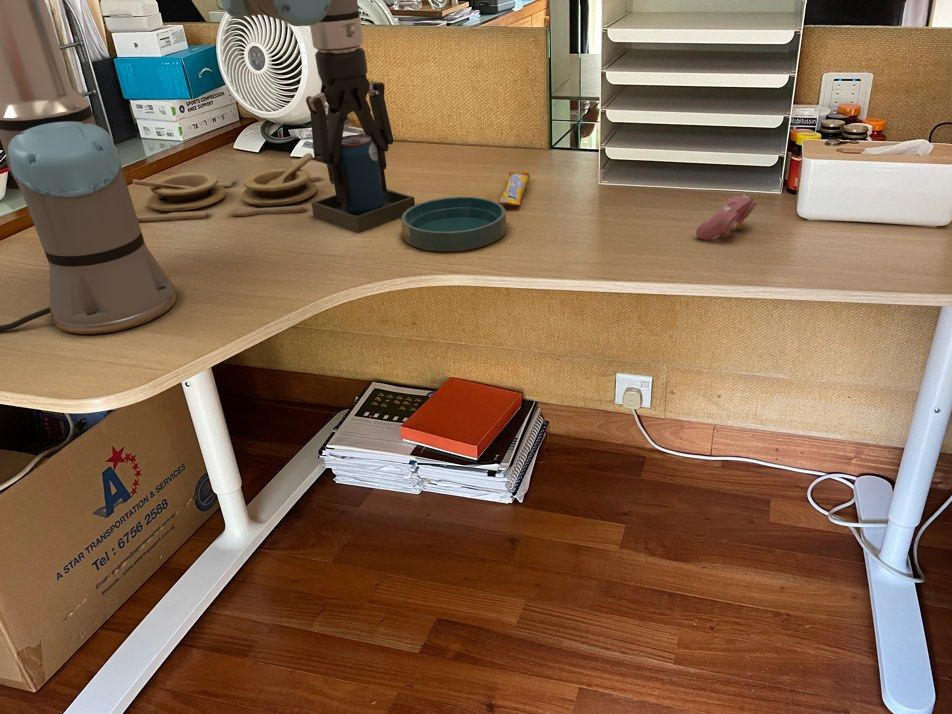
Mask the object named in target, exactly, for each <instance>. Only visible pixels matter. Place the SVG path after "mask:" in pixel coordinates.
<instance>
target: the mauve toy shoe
mask: <svg viewBox="0 0 952 714" xmlns="http://www.w3.org/2000/svg"><path fill="white" fill-rule="evenodd" d="M757 203H758V202H757V201H756V200H754V199H753V198H752V197H750V196H746V194H745V193H744V194H742V195H735V196H733V197H730V198H729V199H728V200H727V201H726V203H725V204H724V205H723V206H722V207H721V208H720V209H719V210H718V211H717V212H716V213H715V214H714V215H713V216H712V217H711V218H709V219H707V220H705V221H704V222H702V223H700V224H699V225H698V227H697V228H696V230H695V236H696V238H698V239H700V240H710V239H711V240H712V239H713V238H715V237H717V236H721V237H722V238H726V237H727V236H728V235H729V234H730V233H731V231H733V232H735V231H736V230H737V229H740V228H741V227H742V224H743V222H744V221H745V220H746V219H747V218H748V217H749V216H750V215H751V213H752V212H753V211H754V209H755V208H756V206H757Z"/></svg>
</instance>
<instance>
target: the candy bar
mask: <svg viewBox="0 0 952 714" xmlns="http://www.w3.org/2000/svg"><path fill="white" fill-rule="evenodd" d="M508 178H509V179H508V181H507V184H506V186H505V189H504V190H503V192H502V194H501V196H500V198H499V200H498V201H496V202H497V203H499V204H501V205H502V206H509V207H511V206H512V207H513V206H514V207H515V206H521V203H522V199H523V197H524V193H525V190H526V187H527V185H528V182H529V180H530V178H531V175H530V173H529V172H528V171H520V172H518V173H516V172H508Z"/></svg>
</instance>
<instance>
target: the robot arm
mask: <svg viewBox="0 0 952 714" xmlns="http://www.w3.org/2000/svg"><path fill="white" fill-rule="evenodd" d="M220 3H221V5H222V7H223V9H224V11H225V12H226V13H227V14H228V15H229V16H230V17H233V18H239V17H247V18H251V17H254V16H266V17H269V18H272V19H275V20H280V21H282V22H285V23H287V24H289V25H290V26H293V27H309V29H310V34H311V35H310V36H311V41H312V46H313V48H315V49H316V50H317V51H316V52H315V53H314V57H315V64H316V68H317V69H316V70H317V75H318V77H319V80H320V82H321V87H320V92H319V93H316V94H315V95H314V96H311V95H308V96H307V97H306V98H305V102H306V105H307V108H308V110H309V114H310V125H311V137H312V138H311V139H312V149H313V159H314V161H315V162H318V163H321V164H325V165H326V167H327V172H328V173H327V174H328V178H329V179H328V180H329V182H330V184H331V185H333V186H334V191H335V195H336V198H337V201H338V202H341V203H344V204H350V203H351V201H350V195H349V189H348V183H347V177H346V171H345V164H344V163H340V154H341V146H342V138H343V137H344V128H345V122H346V121H347V119H348V114H351V113H352V112H353V114H355V115H356V118H357V120H358V122H359V124H360V126H361V128H362V130H363V133H364V135H368V136H370V137H371V138H372V142H373V143H374V145H375V146H376V148H377V154H378V161H379V168H380V175H381V182H382V189H383V192H385V191H387V189H388V187H387V181H386V175H385V173H386V172H385V170H387V159H386V152H388V151H389V147H390V146H389V145H392V144H393V143H394V142H395V141H394V140H395V139H394V136H393V135H394V134H393V130H392V127H391V121H390V119H389V114H388V108H387V103H386V100H385V90H386V89H385V88H386V87H385V83H384V82H380V81H375V80H371V81H369V79H368V77H367V73H368V64H367V57H366V51H365V50H364V48H363V47H362V46H363V44H364V37H363V29H362V22H361V15H360V10H359V3H358V0H220ZM367 96H368V99H369V101H368V100H367ZM326 103H327V104H326ZM369 103H370V104H369ZM326 108H327V112H326ZM327 118H328V119H327ZM0 141H1V145H2V148H3V150H4V153H5V160H6V163H7V167H8V170H9V171H10V174H11V176H12V177H13V179H14V180H15V182H16V183H17V186H18V188H19V191H20V193H21V195H22V197H23V200H24V202H25V204H26V207H27V210H28V212H29V215H30V217H31V220H32V223H33V225H34V228H35V231H36V234H37V236H38V239H39V241H40V245H41V247H42V249H43V252H44V254H45V257H46V260H47V263H48V267H49V306H48V307H46V308H43V309H40V310H38V311H35V312H33V313H30V314H28V315H26V316H23V317H21V318H19V319H17V320H15V321H12V322H10V323H6V324H1V325H0V332H5V331H10V330H13V329H15V328H18V327H20V326H23V325H24V324H27V323H29V322H31V321H33V320H36V319H38V318H41V317H43V316H46V315H49V314H50V315H51V317H52V320H53V322H54V325H55V326H56V327H57V328H58V329H60V330H61V331H64V332H66V333H70V334H77V335H98V334H99V335H100V334H107V333H112V332H113V333H115V332H119V331H123V330H128V329H131V328H134V327H137V326H138V327H139V326H140V325H143V324H146V323H148V322H151V321H152V320H156V319H157V318H158V317H160V316H162V315H163V314H165V313H166V312H167V311H169V310H170V309H171V308H172V307H173V306H174V304H175V303H176V301H177V295H176V291H175V288H174V285H173V284H172V281H171V279H170V277H169V276H168V274H166V272H165V270H163V268H162V267H161V265H160V264H159V262H158V261H157V259H156V258H155V256H154V255H153V254H152V252H151V251H150V250H149V248H148V247H147V245H146V242H145V239H144V236H143V232H142V229H141V226H140V222H138V219H137V216H138V215H137V212H136V209H135V206H134V202H133V199H132V197H131V193H130V190H129V186H128V184H127V180H126V177H125V174H124V171H123V167H122V160H121V159H122V158H121V155H120V151H119V149H118V147H117V146H116V145H115V141H114V140H113V138H112V136H111V134H110V133H109V132H108V131H107V130H106V129H104V128H103V127H101V126H98V125H97V122H96V120H95V117H94V113H93V111H92V108H91V103H90V101H89V100H88V99H87V98H85V97H84V96H82V95H81V94H79V93H78V92H76V91H75V90H74V89H73V86H72V84H71V81H70V78H69V75H68V71H67V68H66V65H65V62H64V58H63V56H62V52H61V49H60V46H59V42H58V39H57V36H56V33H55V30H54V27H53V23H52V21H51V17H50V14H49V11H48V8H47V5H46V1H45V0H0Z"/></svg>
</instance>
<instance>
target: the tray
mask: <svg viewBox="0 0 952 714" xmlns="http://www.w3.org/2000/svg"><path fill="white" fill-rule="evenodd" d="M383 196H384V205H383V207H381V208H378V209H376V210H373V211H370V212H367V213H364V214H362V215H359V216H355V215H352V214H349V213H347V212H346V210H345V209H344V208H343V206H342V203H341V202H338V201H337V198H336V194H333V195H330V196H328V197H324V198H321V199H318V200H315V201H312V202H311V203H310V205H311V210H312V215H313V216H312V217H313V218H316V219H319V220H321V221H324V222H327V223H330V224H333V225H336V226H339V227H341V228H344V229H348V230H350V231H353V232H356V233H362V232H364V231H367V230H369V229H372V228H374V227H377V226H381V225H383V224H385V223H388V222H391V221H394V220H397V219H399V218H401V217H402V215H403V213H404V212H405V211H406V210H408V209H409V208H411V207H413V206H415V205H416V199H415V196H413V195H408V194H405V193H402V192H398V191H394V190H392V189H388V188H387V191H385V192H383Z"/></svg>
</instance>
